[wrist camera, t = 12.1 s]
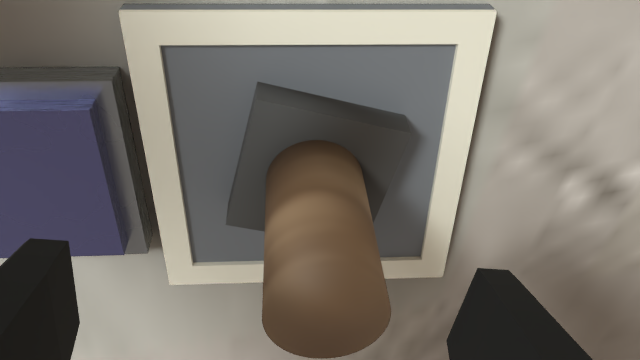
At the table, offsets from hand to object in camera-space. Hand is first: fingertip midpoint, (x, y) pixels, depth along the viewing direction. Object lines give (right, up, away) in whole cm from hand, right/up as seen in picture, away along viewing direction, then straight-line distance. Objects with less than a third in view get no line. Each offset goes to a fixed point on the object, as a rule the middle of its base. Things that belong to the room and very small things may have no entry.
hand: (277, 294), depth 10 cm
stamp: (+1, +3, +10) cm, 10 cm away
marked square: (0, +3, +10) cm, 10 cm away
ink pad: (-10, +3, +9) cm, 14 cm away
